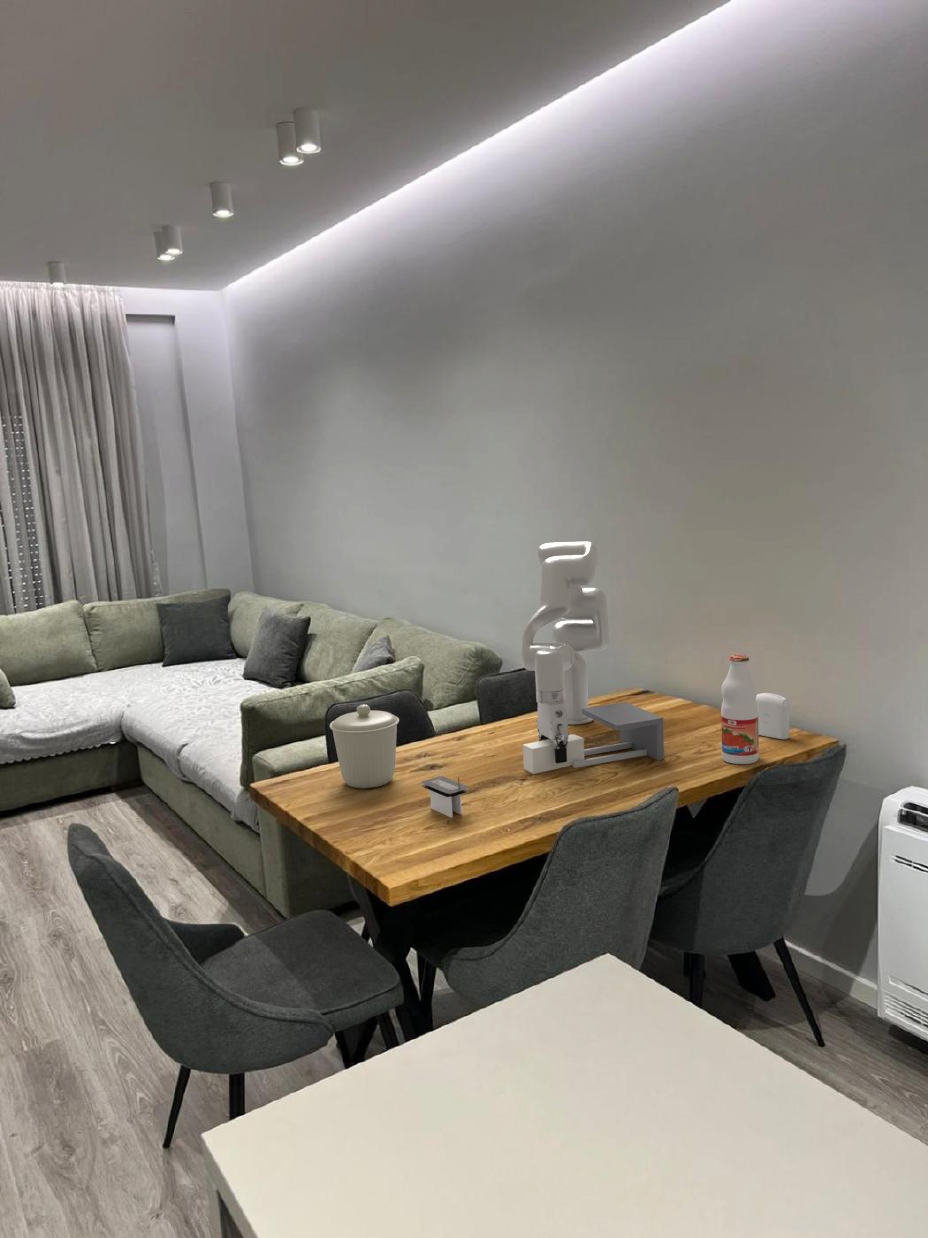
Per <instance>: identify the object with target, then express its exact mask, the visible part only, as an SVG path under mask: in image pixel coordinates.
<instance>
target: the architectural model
mask: <svg viewBox="0 0 928 1238" xmlns="http://www.w3.org/2000/svg"><path fill="white" fill-rule="evenodd" d="M420 783H421V787H422V788H425V789H427V790H429V797H430V809H432V810H433V811H436V812H437V813H439V814H442V815H445V816H447V817H449V818H451V819H452V818H453V815H454V814H453V813H456V814H459V815H463V807H462V806H463V804H462V794H466V793H468V792H469V789H468V788H469V786H467V785H466V784H463V783H460V776H459V775H458V776H457V781H455V780H453V779H450V778H448V777H445V776H443V775H441V776H437V777H433V778H430V779H426V780H422V781H421V782H420Z"/></svg>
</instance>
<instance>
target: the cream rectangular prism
mask: <svg viewBox="0 0 928 1238" xmlns="http://www.w3.org/2000/svg"><path fill="white" fill-rule="evenodd" d="M557 741H558V743H559V742H560V741H561V740H557ZM555 748H556V746H555V743H554V740H551V739H547V740H542V741H539V740H537V741H534V742H527V743H524V744H522V755H523V756H522V757H523V758H522V759H523V770H525V771H527V772H529V773H531V774H533V775H535V774H540V773H544V772H549V771H552V770H553V771H554V770H557V769H562V767H563V768H567V767H571V766H570V765H572V766H573V761H579V760H584V759H585V756H584V749H585V743H584V737H582V736H579V735H577V734H574V733H572V734H569V736H568V744H567V762H563V763H556V762H555Z"/></svg>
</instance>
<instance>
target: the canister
mask: <svg viewBox="0 0 928 1238" xmlns="http://www.w3.org/2000/svg"><path fill="white" fill-rule="evenodd" d="M399 722H400V718H399V717H398V716H396V715H394V714H392V713H391V712H389V711H383V710H371V707H370V706H369V705H368V704H360V705H357V707H356V711H353V712H348V713H345V714H343V715H340V716H338V717H336V719H334V720H333V721H331V722H330V723H329V728H330V730H331V731H332V734H333V739H334V744H335V749H336V754H337V759H338V760H337V761H338V764H339V768H340V769H339V770H340V774H341V777H342V779H343V782H344V783H345V784H346V785H348V786H349V787H351V788H355V789H356V788H357V789H373V788H374V789H375V788H378V787H381V786H383V785H387V784H388V783H390V782H391V781H392V779H393V777H394V776H395V771H396V769H395V768H396V756H397V754H396V753H397V732H398V731H397V728H398V726H397V725H398V724H399Z"/></svg>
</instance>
